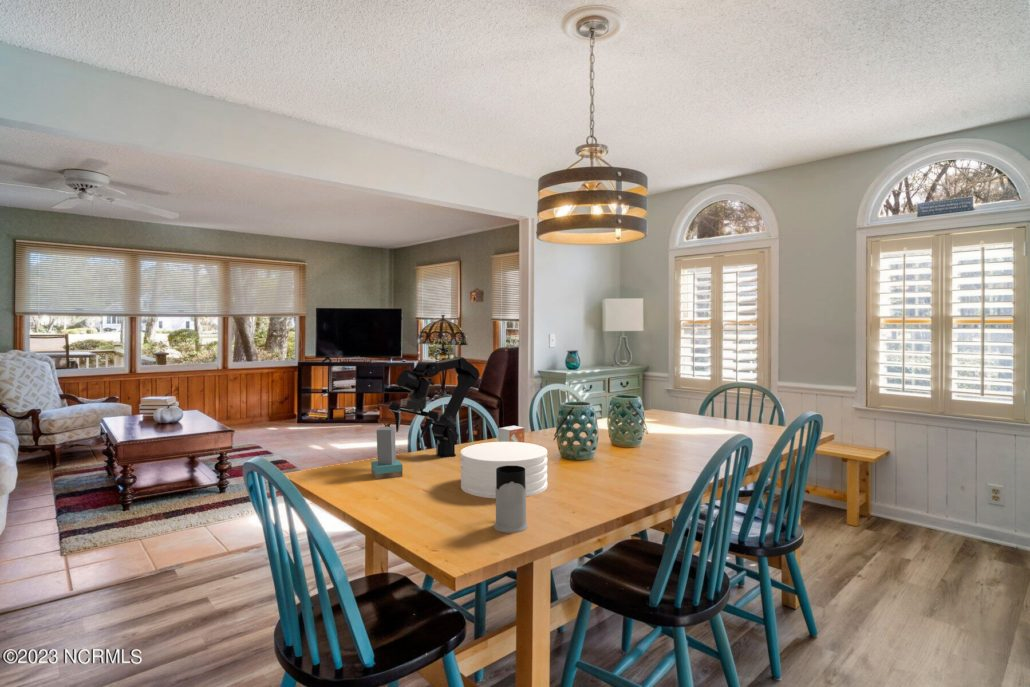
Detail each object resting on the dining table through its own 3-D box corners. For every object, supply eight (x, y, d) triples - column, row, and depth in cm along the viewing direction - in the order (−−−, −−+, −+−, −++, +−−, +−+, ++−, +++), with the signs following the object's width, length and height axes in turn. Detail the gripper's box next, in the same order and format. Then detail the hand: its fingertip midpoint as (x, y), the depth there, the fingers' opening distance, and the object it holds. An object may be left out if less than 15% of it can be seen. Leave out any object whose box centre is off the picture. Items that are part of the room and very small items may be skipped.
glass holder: (494, 533, 143) (494, 474, 142) (492, 514, 157) (492, 460, 156) (529, 532, 143) (529, 473, 143) (524, 513, 158) (523, 459, 157)
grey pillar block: (395, 460, 201) (394, 426, 200) (392, 464, 196) (390, 429, 195) (381, 460, 201) (380, 426, 200) (377, 464, 196) (376, 429, 195)
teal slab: (396, 465, 204) (396, 458, 204) (402, 471, 196) (402, 464, 196) (371, 468, 200) (371, 461, 200) (376, 474, 192) (375, 467, 192)
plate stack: (491, 470, 204) (491, 438, 204) (562, 481, 190) (562, 447, 190) (443, 490, 180) (442, 454, 180) (519, 504, 166) (519, 465, 165)
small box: (509, 465, 211) (509, 430, 210) (498, 462, 216) (497, 427, 215) (525, 461, 217) (524, 427, 216) (513, 458, 221) (513, 425, 221)
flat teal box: (397, 472, 204) (397, 465, 204) (402, 478, 196) (402, 471, 196) (371, 474, 201) (371, 468, 201) (375, 481, 192) (375, 474, 192)
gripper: (391, 384, 207) (380, 427, 203) (441, 395, 207) (431, 437, 202) (396, 390, 218) (386, 430, 214) (444, 400, 217) (434, 440, 213)
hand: (409, 434), depth 211 cm, fingers open, 9 cm apart
